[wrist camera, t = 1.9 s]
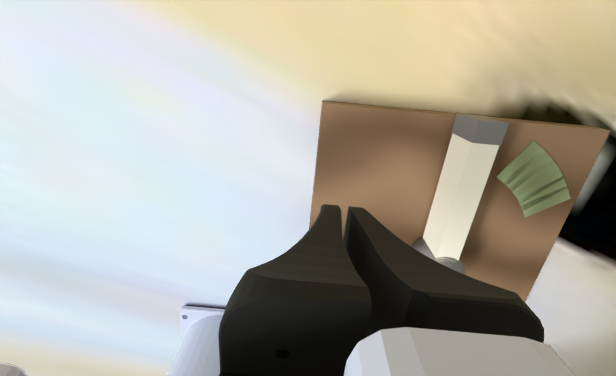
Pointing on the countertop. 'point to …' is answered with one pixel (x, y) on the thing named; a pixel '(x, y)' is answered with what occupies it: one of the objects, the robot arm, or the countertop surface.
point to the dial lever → (460, 187)
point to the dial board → (426, 173)
